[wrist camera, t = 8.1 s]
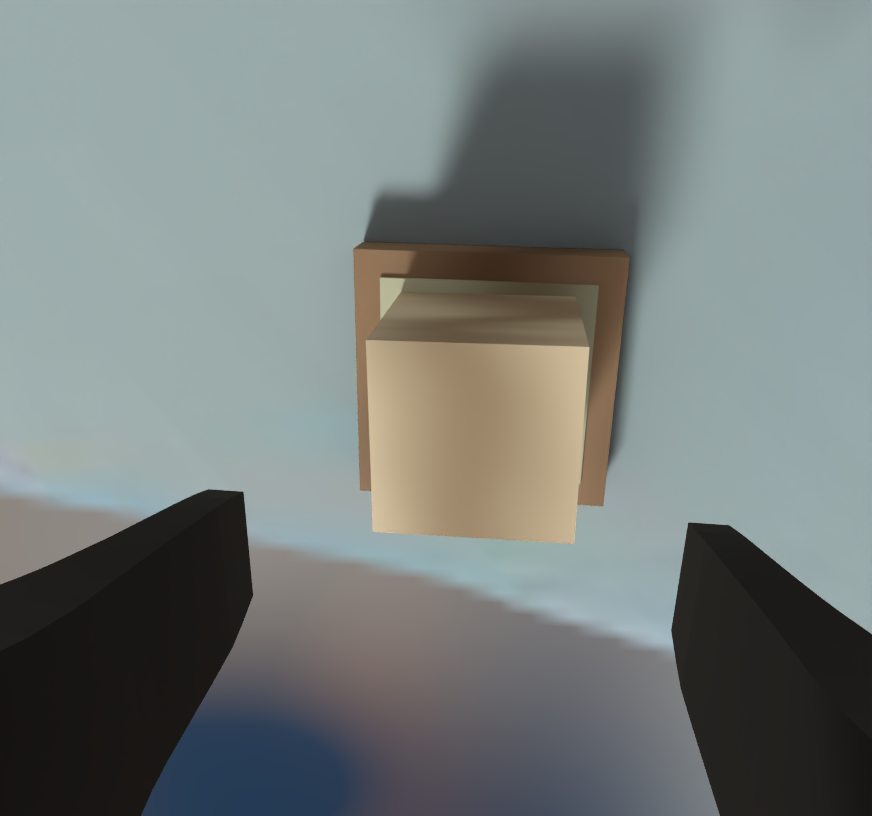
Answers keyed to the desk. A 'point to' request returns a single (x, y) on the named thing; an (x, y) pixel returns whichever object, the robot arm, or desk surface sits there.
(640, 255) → the desk surface
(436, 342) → the birch cube
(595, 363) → the brown framed square tile
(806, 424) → the desk surface
